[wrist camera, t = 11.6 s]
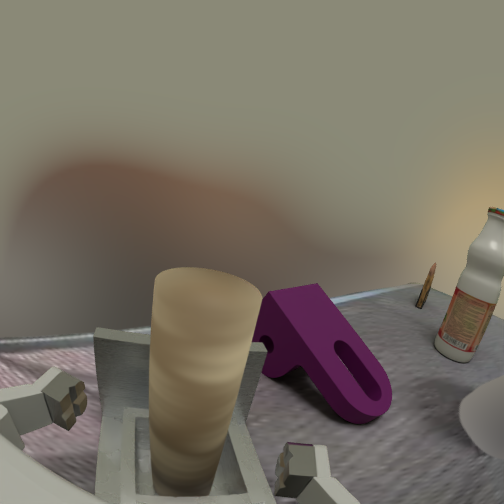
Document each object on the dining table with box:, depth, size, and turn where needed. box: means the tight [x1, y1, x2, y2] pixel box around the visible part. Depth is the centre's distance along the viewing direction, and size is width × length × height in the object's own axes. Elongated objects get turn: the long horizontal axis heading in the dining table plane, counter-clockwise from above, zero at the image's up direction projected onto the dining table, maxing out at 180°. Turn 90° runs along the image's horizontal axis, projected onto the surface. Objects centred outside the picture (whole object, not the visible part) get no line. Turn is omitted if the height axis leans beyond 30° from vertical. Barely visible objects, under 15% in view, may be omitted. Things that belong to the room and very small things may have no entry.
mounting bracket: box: [252, 283, 392, 424], centre depth 31 cm, size 10×8×18 cm
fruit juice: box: [434, 207, 504, 363], centre depth 39 cm, size 9×9×28 cm
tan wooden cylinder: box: [149, 267, 262, 497], centre depth 12 cm, size 4×4×15 cm
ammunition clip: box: [415, 263, 436, 309], centre depth 68 cm, size 11×2×12 cm, turn 138°
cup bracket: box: [93, 327, 276, 504], centre depth 14 cm, size 12×13×9 cm
